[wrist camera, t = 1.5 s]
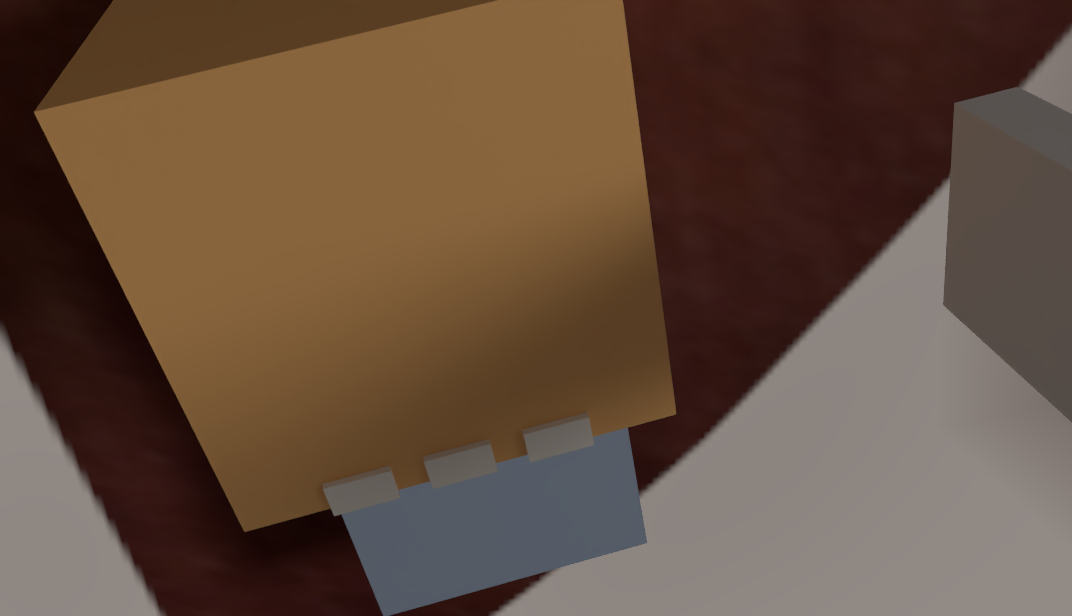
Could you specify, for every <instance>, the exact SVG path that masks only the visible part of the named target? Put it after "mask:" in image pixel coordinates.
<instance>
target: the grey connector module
mask: <svg viewBox="0 0 1072 616" xmlns="http://www.w3.org/2000/svg"><path fill="white" fill-rule="evenodd" d="M593 440H594V445H593V446H589V447H586V448H582V449H578V450H575V451H571V452H567V453H564V454H560V455H556V456H553V457H549V458H545V459H542V460H538V461H534V462H531V463H530V460H529V456H528V455H525V456H521V457H518V458H514V459H510V460H507V461H503V462H499V463H496V465H497V470H498V472H494V473H491V474H487V475H483V476H480V477H476V478H472V479H469V480H465V481H461V482H458V483H454V484H450V485H447V486H443V487H439V488H436V489H433V488H432V485H431V482H426V483H422V484H419V485H415V486H411V487H408V488H404V489H400V490H399V492H400V498H399V499H396V500H392V501H388V502H385V503H381V504H377V505H374V506H370V507H366V508H363V509H359V510H355V511H352V512H348V513H344V514H341V515H342V517H343V519H344V522H345V524H346V527H347V529H348V531H349V534H350V536H351V539H352V541H353V543H354V546H355V548H356V551H357V553H358V555H359V558H360V560H361V563H362V565H363V568H364V570H365V572H366V575H367V577H368V580H369V582H370V584H371V587H372V589H373V592H374V594H375V596H376V599H377V601H378V604H379V606H380V608H381V611H382V613H383V616H389V615H393V614H396V613H400V612H403V611H407V610H410V609H414V608H417V607H421V606H425V605H428V604H432V603H435V602H439V601H442V600H446V599H449V598H453V597H457V596H460V595H464V594H467V593H471V592H474V591H478V590H481V589H485V588H489V587H492V586H496V585H499V584H503V583H506V582H510V581H513V580H517V579H521V578H524V577H528V576H531V575H535V574H538V573H542V572H545V571H549V570H552V569H556V568H560V567H563V566H567V565H570V564H574V563H577V562H581V561H584V560H588V559H591V558H595V557H599V556H602V555H605V554H609V553H613V552H616V551H620V550H624V549H627V548H631V547H634V546H638V545H641V544H645V543H647V540H646V535H645V528H644V522H643V516H642V510H641V505H640V499H639V493H638V487H637V481H636V475H635V469H634V463H633V457H632V451H631V445H630V439H629V433H628V428H624V429H620V430H617V431H613V432H609V433H606V434H602V435H598V436H595V437H593Z"/></svg>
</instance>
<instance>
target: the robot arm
mask: <svg viewBox="0 0 1072 616" xmlns="http://www.w3.org/2000/svg"><path fill="white" fill-rule="evenodd" d="M943 304H944V306H945V307H946V308H947V309H949V311H951V313H953V314H954V315H955V316H956V317H957V318H958V319H959V320H960V321H961V322H962V323H964V324H965V325H966V326H967V327H968V328H969V329H970V330H971V331H973V333H975V334H976V335H977V336H978V337H979V338H980V339H981V340H982V341H983V342H984V343H985V344H987V345H988V346H989V347H990V348H991V349H992V350H993V351H994V352H995V353H996V354H998V355H999V356H1000V357H1001V358H1002V359H1003V360H1004V361H1005V362H1006V363H1007V364H1009V365H1010V366H1011V367H1012V368H1013V369H1014V370H1015V371H1016V372H1017V373H1019V375H1021V376H1022V377H1023V378H1024V379H1025V380H1026V381H1027V382H1028V383H1029V384H1030V385H1032V386H1033V387H1034V388H1035V389H1036V390H1037V391H1038V392H1039V393H1040V394H1041V395H1043V396H1044V397H1045V398H1046V399H1047V400H1048V401H1049V402H1050V403H1051V404H1052V405H1053V406H1055V407H1056V408H1057V409H1058V410H1059V411H1060V412H1061V413H1063V415H1064V416H1066V417H1067V418H1068V419H1069V420H1070V421H1071V422H1072V114H1071V113H1069V112H1067V111H1064V110H1062V109H1060V108H1058V107H1057V106H1054V105H1053V104H1051V103H1049V102H1047V101H1045V100H1042V99H1041V98H1039V97H1037V96H1035V95H1033V94H1031V93H1029V92H1027V91H1025V90H1023V89H1021V88H1019V87H1016V88H1012V89H1008V90H1004V91H1000V92H996V93H992V94H988V95H984V96H981V97H977V98H973V99H969V100H965V101H961V102H957V103H955V104H954V122H953V140H952V158H951V176H950V195H949V212H948V231H947V248H946V266H945V285H944V302H943Z"/></svg>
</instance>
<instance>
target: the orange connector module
mask: <svg viewBox="0 0 1072 616" xmlns="http://www.w3.org/2000/svg"><path fill="white" fill-rule="evenodd" d="M34 114H35V116H36V118H37V120H38V122H39V124H40V126H41V128H42V130H43V132H44V133H45V135H46V137H47V139H48V141H49V143H50V145H51V147H52V149H53V151H54V153H55V155H56V157H57V159H58V161H59V163H60V165H61V167H62V169H63V171H64V173H65V175H66V177H67V179H68V181H69V183H70V185H71V187H72V189H73V191H74V193H75V195H76V197H77V199H78V201H79V203H80V205H81V207H82V209H83V211H84V213H85V215H86V217H87V219H88V221H89V223H90V225H91V227H92V229H93V231H94V233H95V235H96V237H97V239H98V241H99V243H100V245H101V247H102V249H103V251H104V253H105V255H106V257H107V259H108V261H109V263H110V265H111V267H112V269H113V271H114V273H115V275H116V277H117V279H118V281H119V283H120V285H121V287H122V289H123V291H124V293H125V295H126V297H127V299H128V301H129V303H130V305H131V307H132V309H133V311H134V313H135V315H136V317H137V319H138V321H139V323H140V325H141V327H142V329H143V331H144V333H145V335H146V337H147V339H148V341H149V343H150V345H151V347H152V349H153V351H154V353H155V355H156V357H157V359H158V361H159V363H160V365H161V367H162V369H163V371H164V373H165V375H166V377H167V379H168V381H169V383H170V385H171V387H172V389H173V391H174V393H175V395H176V397H177V399H178V400H179V402H180V404H181V406H182V408H183V410H184V412H185V414H186V416H187V418H188V420H189V422H190V424H191V426H192V428H193V430H194V432H195V434H196V436H197V438H198V440H199V442H200V444H201V446H202V448H203V450H204V452H205V454H206V456H207V458H208V460H209V462H210V464H211V466H212V468H213V470H214V472H215V474H216V476H217V478H218V480H219V482H220V484H221V486H222V488H223V490H224V492H225V494H226V496H227V498H228V500H229V502H230V504H231V506H232V508H233V510H234V512H235V514H236V516H237V518H238V520H239V522H240V524H241V526H242V528H243V530H244V532H247V531H250V530H254V529H258V528H261V527H265V526H269V525H272V524H276V523H280V522H283V521H287V520H291V519H294V518H298V517H302V516H305V515H309V514H312V513H316V512H320V511H323V510H327V509H331V510H332V512H333V515H334V516H337V515H341V514H344V513H348V512H352V511H355V510H359V509H363V508H366V507H370V506H374V505H377V504H381V503H385V502H388V501H392V500H396V499H399V498H400V492H399V490H400V489H404V488H408V487H411V486H415V485H419V484H422V483H426V482H431V485H432V488H433V489H436V488H439V487H443V486H447V485H450V484H454V483H458V482H461V481H465V480H469V479H472V478H476V477H480V476H483V475H487V474H491V473H494V472H498V470H497V465H496V463H499V462H503V461H507V460H510V459H514V458H518V457H521V456H525V455H528V456H529V460H530V463H531V462H534V461H538V460H542V459H545V458H549V457H553V456H556V455H560V454H564V453H567V452H571V451H575V450H578V449H582V448H586V447H589V446H593V445H594V440H593V437H595V436H598V435H602V434H606V433H609V432H613V431H617V430H620V429H624V428H628V427H631V426H635V425H639V424H642V423H646V422H650V421H653V420H657V419H661V418H664V417H668V416H672V415H675V414H676V408H675V400H674V393H673V385H672V377H671V369H670V362H669V354H668V346H667V339H666V331H665V323H664V315H663V308H662V300H661V292H660V285H659V277H658V269H657V261H656V254H655V246H654V238H653V231H652V223H651V215H650V207H649V200H648V192H647V184H646V177H645V169H644V161H643V153H642V146H641V138H640V130H639V123H638V115H637V107H636V99H635V92H634V84H633V76H632V69H631V61H630V53H629V45H628V38H627V30H626V22H625V15H624V7H623V0H113V2H112V3H111V4H110V6H109V7H108V9H107V10H106V11H105V13H104V14H103V16H102V17H101V18H100V20H99V21H98V23H97V24H96V25H95V27H94V28H93V30H92V31H91V32H90V34H89V35H88V37H87V38H86V39H85V41H84V42H83V44H82V45H81V47H80V48H79V49H78V51H77V52H76V54H75V55H74V56H73V58H72V59H71V61H70V62H69V63H68V65H67V66H66V68H65V69H64V70H63V72H62V73H61V75H60V76H59V77H58V79H57V80H56V82H55V83H54V84H53V86H52V87H51V89H50V90H49V91H48V93H47V94H46V96H45V97H44V98H43V100H42V101H41V103H40V104H39V105H38V107H37V108H36V110H35V111H34Z"/></svg>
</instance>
